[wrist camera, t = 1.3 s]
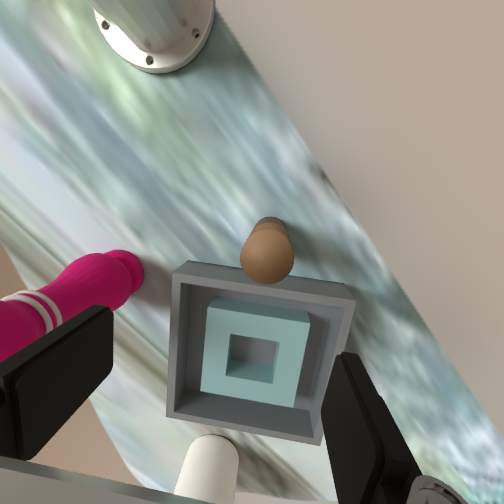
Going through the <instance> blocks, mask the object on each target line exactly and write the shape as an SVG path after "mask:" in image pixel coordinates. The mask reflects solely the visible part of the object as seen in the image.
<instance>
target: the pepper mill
mask: <svg viewBox="0 0 504 504" xmlns="http://www.w3.org/2000/svg"><path fill="white" fill-rule="evenodd" d="M143 278H144V272H143V268H142V266H141V263H140V262H139V261H138V259H137V258H136V257H135V256H134V255H132V254H131V253H129V252H127V251H124V250H112V251H109V252H107V253H104V254H102V253H93V254H88V255H85V256H83V257H81V258H79V259H77V260H75V261H74V262H72V263H71V264H70V265H68V266H67V267H66V268H65V270H64V271H63V272H62V273H61V274H60V275H59V276H58V277H57V278H56V280H54V281H53V282H51V283H50V284H49V285H47V286H45V287H43V288H41V289H39V290H36V291H33V290H22V291H19V292H16V293H15V294H13V295H8V296H6V297H4V298H2V299H1V300H0V362H2V361H4V360H5V359H7V358H8V357H10V356H12V355H13V354H15V353H16V352H18V351H20V350H21V349H23V348H24V347H26V346H28V345H29V344H31V343H32V342H34V341H36V340H37V339H39V338H40V337H42V336H44V335H45V334H47V333H48V332H50V331H52V330H53V329H55V328H56V327H58V326H60V325H61V324H63V323H64V322H66V321H68V320H69V319H71V318H72V317H74V316H76V315H77V314H79V313H80V312H82V311H84V310H85V309H87V308H88V307H90V306H92V305H94V304H97V305H102V306H107V307H109V308H110V309H111V311H114V310H116V309H118V308H119V307H121V306H122V305H123V304H124V303H125V302H126V301H127V299H128V298H129V295H131V294H132V293H134V292H135V291H136V290H138V289H139V288H140V286H141V285H142V282H143Z"/></svg>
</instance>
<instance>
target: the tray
mask: <svg viewBox="0 0 504 504" xmlns="http://www.w3.org/2000/svg"><path fill="white" fill-rule="evenodd" d="M356 302H357V300H356V299H355V298H354V296H353V295H352V294H351V292H350V291H349V290H348V288H347V287H346V286H345V284H344V283H337V282H331V281H324V280H317V279H310V278H304V277H297V276H290V275H288V276H287V277H286V278H284V279H283V280H281V281H280V282H277V283H274V284H260V283H257V282H255V281H253V280H252V279H250V278H249V277H248V276H247V275H246V274H245V272H244V271H243V269H242V268H236V267H229V266H223V265H216V264H209V263H202V262H196V261H189V260H188V261H187V262H186V263H184V264H183V265H182V266H180V267H179V268H178V269H176V270H175V271H174V272H173V273H172V293H171V315H170V338H169V360H168V382H167V405H166V417H169V418H175V419H180V420H185V421H190V422H196V423H201V424H206V425H212V426H217V427H222V428H227V429H233V430H238V431H243V432H248V433H254V434H259V435H264V436H270V437H275V438H280V439H285V440H291V441H296V442H301V443H307V444H312V445H317V446H320V445H321V441H322V437H323V433H324V430H323V425H322V420H321V406H322V402H323V399H324V395H325V392H326V388H327V385H328V381H329V378H330V375H331V371H332V368H333V364H334V361H335V357H336V355H337V354H338V355H340V354H341V353H342V352H344V350H345V346H346V342H347V338H348V334H349V330H350V326H351V322H352V318H353V314H354V310H355V306H356Z"/></svg>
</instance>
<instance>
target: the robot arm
mask: <svg viewBox="0 0 504 504" xmlns="http://www.w3.org/2000/svg"><path fill="white" fill-rule="evenodd" d="M86 1H87V2H88V3H89V4H90V5H91V6H92V7H93V10H94V14H95V18H96V21H97V24H98V26H99V28H100V31H101V33H102V35H103V36H104V38H105V39H106V41H107V43H108V44H109V45H110V47H111V48H112V49H113V50H114V51H115V52H116V53H117V54H118V55H119V56H120V57H121V58H122V59H123V60H125V61H126V62H127V63H129V64H130V65H132V66H133V67H135V68H137V69H140V70H142V71H145V72H149V73H156V74H158V73H168V72H171V71H175V70H178V69H179V68H181V67H183V66H185V65H186V64H188V63H189V62H190V61H191V60H192V59H193V58H195V57H196V55H197V54H198V53H199V51H200V50H201V49H202V48H203V46H204V44H205V42H206V40H207V38H208V36H209V34H210V31H211V27H212V24H213V20H214V13H215V0H86ZM198 36H199V37H198ZM197 37H198V38H197ZM152 63H153V64H152ZM113 321H114V314H113V312H112V311H111V309H110V308H109V307H107V306H102V305H97V304H94V305H92V306H90V307H88V308H87V309H85V310H84V311H82V312H80V313H79V314H77V315H76V316H74V317H72V318H71V319H69V320H68V321H66V322H64V323H63V324H61V325H60V326H58V327H56V328H55V329H53V330H52V331H50V332H48V333H47V334H45V335H44V336H42V337H40V338H39V339H37V340H36V341H34V342H32V343H31V344H29V345H28V346H26V347H24V348H23V349H21V350H20V351H18V352H16V353H15V354H13V355H12V356H10V357H8V358H7V359H5V360H4V361H2V362H0V504H214V503H210V502H206V501H202V500H197V499H193V498H188V497H184V496H180V495H175V494H171V493H167V492H162V491H158V490H153V489H149V488H145V487H140V486H136V485H131V484H126V483H122V482H118V481H113V480H109V479H105V478H100V477H96V476H91V475H86V474H82V473H77V472H73V471H68V470H64V469H59V468H55V467H50V466H46V465H41V464H36V463H32V462H27V461H26V460H30V459H32V458H33V457H34V456H36V455H37V453H38V452H39V451H40V450H41V449H42V448H43V447H44V446H45V445H46V443H47V442H48V441H49V440H50V439H51V438H52V437H53V436H54V435H55V433H56V432H57V431H58V430H59V429H60V428H61V427H62V426H63V425H64V424H65V422H66V421H67V420H68V419H69V418H70V417H71V416H72V415H73V414H74V412H75V411H76V410H77V409H78V408H79V407H80V406H81V405H82V404H83V402H84V401H85V400H86V399H87V398H88V397H89V396H90V395H91V394H92V393H93V391H94V390H95V389H96V388H97V387H98V386H99V385H100V384H101V383H102V381H103V380H104V379H105V378H106V377H107V376H108V375H109V374H110V372H111V370H112V367H113ZM321 420H322V425H323V430H324V435H325V440H326V445H327V450H328V454H329V459H330V464H331V469H332V474H333V479H334V484H335V489H336V493H337V498H338V503H339V504H468V503H467V502H466V501H465V500H464V499H463V497H462V496H461V495H459V494H458V493H457V492H456V491H455V490H454V489H453V488H451V487H450V486H449V485H447V484H445V483H444V482H442V481H441V480H439V479H436V478H434V477H432V476H426V475H423V474H422V472H421V471H420V469H419V467H418V465H417V463H416V461H415V459H414V457H413V455H412V453H411V451H410V450H409V448H408V446H407V444H406V442H405V440H404V438H403V436H402V434H401V432H400V430H399V429H398V427H397V425H396V423H395V421H394V419H393V417H392V415H391V413H390V411H389V409H388V407H387V406H386V404H385V402H384V400H383V399H382V397H381V396H380V395H379V394H378V392H377V391H376V389H375V387H374V385H373V383H372V381H371V379H370V377H369V375H368V373H367V371H366V369H365V367H364V365H363V363H362V361H361V359H360V357H359V356H358V355H357V354H353V353H348V352H342V353H341V354H340V355H338V354H337V355H336V357H335V361H334V364H333V368H332V371H331V375H330V378H329V381H328V385H327V388H326V392H325V395H324V399H323V402H322V406H321Z"/></svg>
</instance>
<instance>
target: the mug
mask: <svg viewBox="0 0 504 504" xmlns="http://www.w3.org/2000/svg"><path fill="white" fill-rule="evenodd" d="M238 466H239V456H238V452H237V450H236V448H235V447H234V445H233V444H232V443H231V442H230V441H228V440H227V439H225V438H223V437H221V436H218V435H205V436H202V437H199V438H197V439H196V440H195V441H194V442H193V443H192V444H191V446H190V448H189V450H188V452H187V455H186V458H185V461H184V464H183V467H182V470H181V473H180V476H179V479H178V482H177V485H176V488H175V491H174V494H175V495H180V496H184V497H188V498H193V499H197V500H202V501H206V502H210V503H214V504H234V497H235V489H236V482H237V474H238Z"/></svg>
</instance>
